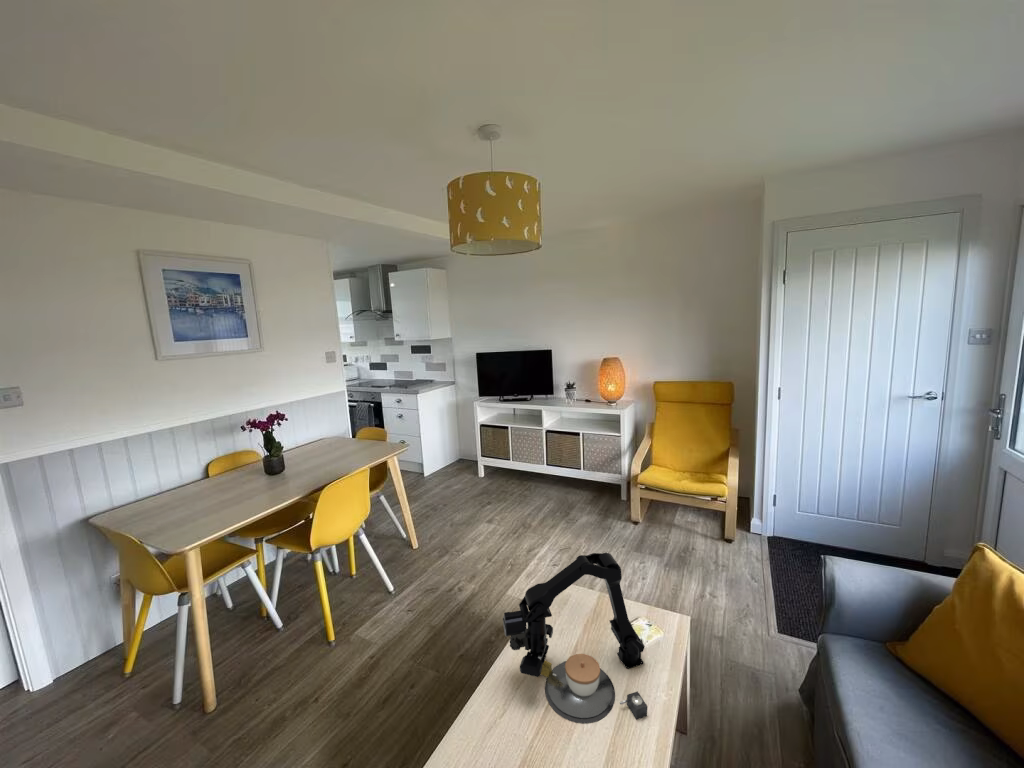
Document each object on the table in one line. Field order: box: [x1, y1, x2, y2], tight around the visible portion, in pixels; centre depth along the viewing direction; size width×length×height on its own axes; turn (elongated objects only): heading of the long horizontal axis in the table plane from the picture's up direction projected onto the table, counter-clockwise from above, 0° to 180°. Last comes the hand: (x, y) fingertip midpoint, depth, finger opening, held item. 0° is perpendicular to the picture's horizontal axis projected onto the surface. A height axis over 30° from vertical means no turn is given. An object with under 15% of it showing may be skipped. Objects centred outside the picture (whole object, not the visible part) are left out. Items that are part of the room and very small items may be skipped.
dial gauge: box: [619, 691, 648, 721], centre depth 125 cm, size 6×5×4 cm
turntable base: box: [544, 667, 616, 724], centre depth 133 cm, size 22×22×1 cm
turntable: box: [540, 660, 613, 719], centre depth 134 cm, size 25×20×3 cm
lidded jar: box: [565, 653, 601, 697], centre depth 132 cm, size 11×11×9 cm
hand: (538, 670), depth 137 cm, fingers closed
